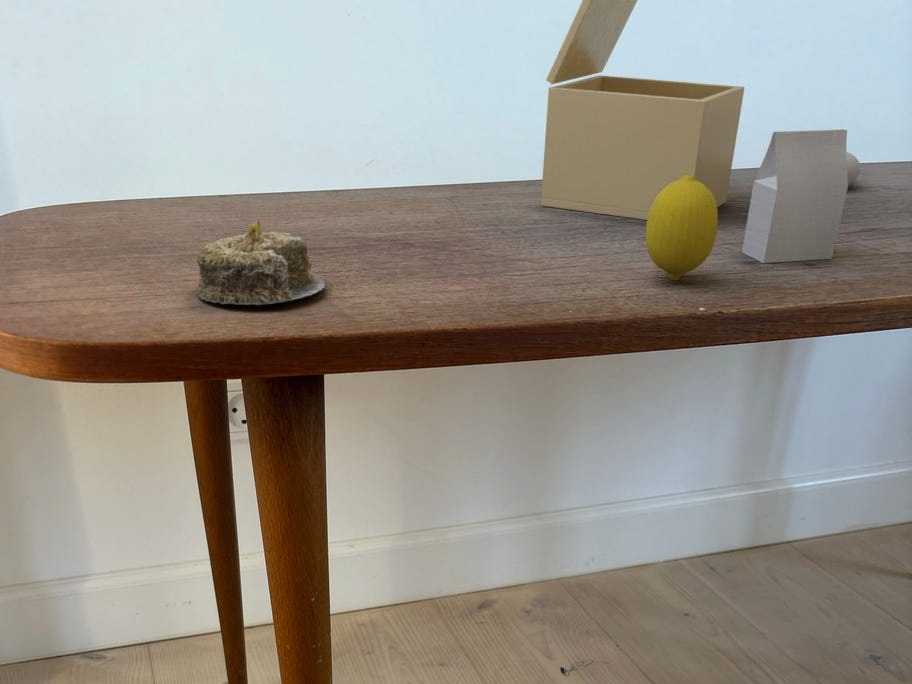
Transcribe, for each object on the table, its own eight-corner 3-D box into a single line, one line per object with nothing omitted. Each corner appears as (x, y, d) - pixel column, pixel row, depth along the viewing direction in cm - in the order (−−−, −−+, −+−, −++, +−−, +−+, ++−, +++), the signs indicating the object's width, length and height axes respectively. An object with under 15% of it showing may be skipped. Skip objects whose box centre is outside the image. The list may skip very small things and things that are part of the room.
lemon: (633, 284, 85) (646, 178, 80) (647, 267, 89) (661, 165, 84) (702, 293, 83) (719, 184, 78) (713, 275, 87) (730, 171, 83)
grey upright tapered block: (831, 258, 92) (859, 133, 86) (763, 263, 90) (787, 135, 85) (808, 248, 95) (833, 126, 89) (741, 252, 93) (763, 128, 88)
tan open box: (726, 202, 110) (744, 86, 104) (687, 225, 101) (705, 101, 95) (588, 184, 117) (598, 75, 111) (540, 205, 108) (548, 87, 102)
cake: (183, 317, 78) (168, 241, 75) (213, 281, 86) (200, 211, 83) (316, 309, 77) (306, 232, 74) (333, 274, 85) (325, 203, 82)
